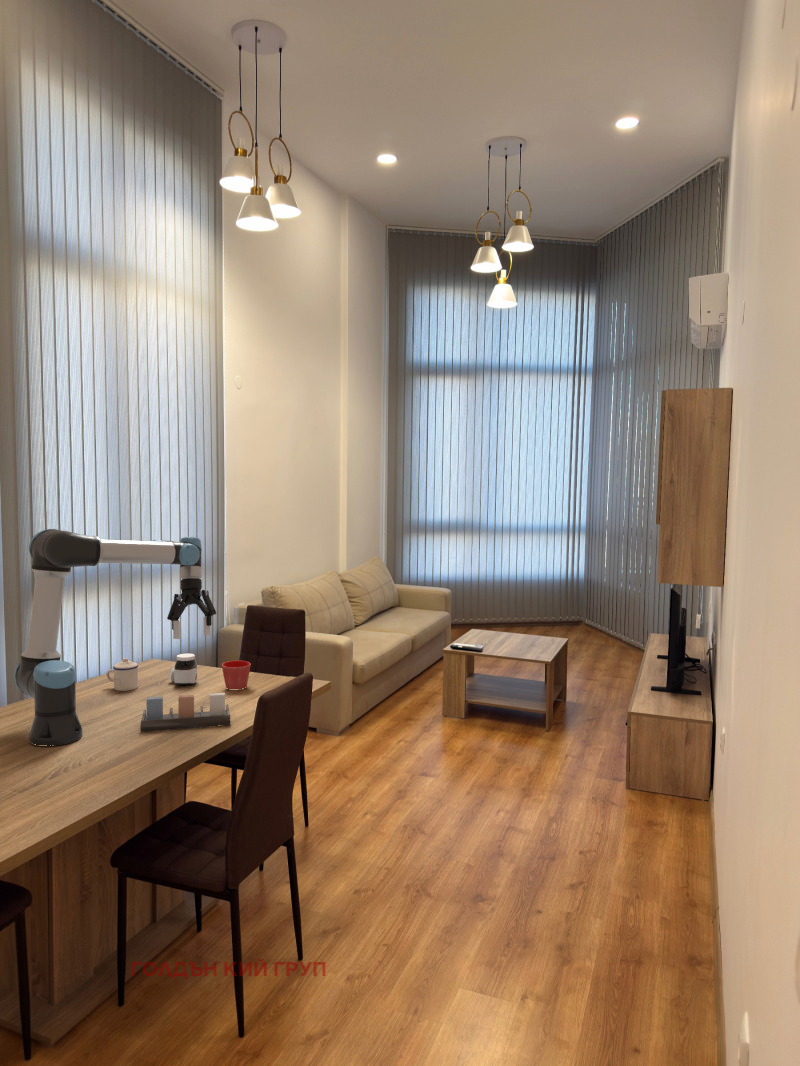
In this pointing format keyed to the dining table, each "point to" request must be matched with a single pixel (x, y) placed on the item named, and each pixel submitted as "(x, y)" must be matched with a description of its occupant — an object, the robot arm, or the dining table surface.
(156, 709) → the key slate
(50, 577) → the robot arm
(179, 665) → the spread jar
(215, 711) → the key offwhite
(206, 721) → the grey compartment tray
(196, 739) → the dining table surface
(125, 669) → the teacup with lid
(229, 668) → the flower pot
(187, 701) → the key terracotta
